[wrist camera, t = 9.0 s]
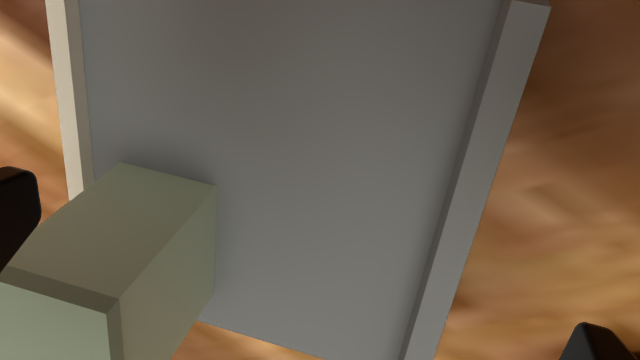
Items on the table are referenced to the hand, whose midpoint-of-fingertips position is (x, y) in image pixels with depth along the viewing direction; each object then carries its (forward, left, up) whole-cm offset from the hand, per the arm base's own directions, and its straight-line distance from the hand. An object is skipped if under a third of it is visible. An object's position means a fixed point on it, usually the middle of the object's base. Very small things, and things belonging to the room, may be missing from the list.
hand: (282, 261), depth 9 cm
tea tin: (+10, -8, -12) cm, 17 cm away
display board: (+6, -4, -13) cm, 15 cm away
